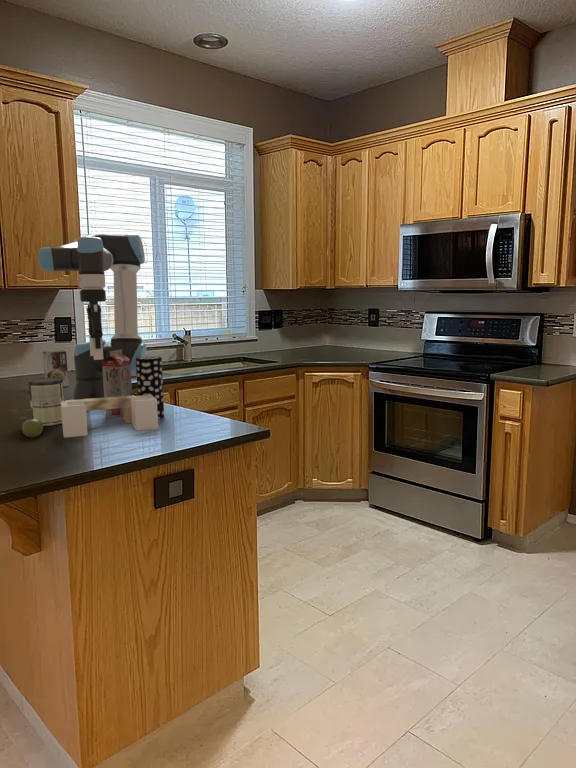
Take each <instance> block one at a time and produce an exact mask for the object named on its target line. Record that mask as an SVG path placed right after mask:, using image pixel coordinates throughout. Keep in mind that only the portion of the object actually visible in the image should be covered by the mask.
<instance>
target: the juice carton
mask: <svg viewBox="0 0 576 768" xmlns="http://www.w3.org/2000/svg"><path fill="white" fill-rule="evenodd" d="M102 368H103V385H104V398H105V397H118V396H133V387H132V386H133V385H132V377H131V364H130V359H129V358H128V357H126V356H124V355H123V354H122V349H121V350H115V351H110V356H109V357H108V358H106V359H104V360H103V361H102ZM104 414H105V416H106V417H107V416H111V417H124V412H123V408H114V409H104Z"/></svg>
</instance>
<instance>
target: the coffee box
mask: <svg viewBox="0 0 576 768" xmlns="http://www.w3.org/2000/svg"><path fill="white" fill-rule="evenodd" d="M42 357H43V358H42V359H43V369H44V371H43V372H44V378H47V377H58V378H63V381H62V382H63V388H65V387H69V386H70V383H69V372H68V359H67V357H68V356H67V351H65V350H64V349H63V350H61V349H60V350H49V351H48V350H47V351H42Z"/></svg>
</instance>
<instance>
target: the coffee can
mask: <svg viewBox="0 0 576 768" xmlns="http://www.w3.org/2000/svg"><path fill="white" fill-rule="evenodd" d="M62 381H63V378H58V377H47V378H45V377H38V378H37V377H36V378H32V379H28V381H27V383H28V390H29V391H28V392H29V393H28V394H29V400H30V401H29V403H30V414H31V415H30V417H31V418H30V419H37V420H40V421H41V422H42V424H43V427H45V426H56V425H60V424H62V412H61V402H62V401H65V400H64V399H65V398H64V397H65V396H64V387H63V382H62Z"/></svg>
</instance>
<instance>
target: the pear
mask: <svg viewBox="0 0 576 768" xmlns="http://www.w3.org/2000/svg"><path fill="white" fill-rule="evenodd" d="M43 429H44V426H43V424H42V422H41V421H40V420H37V419H32V418H30V419H27V420H25V421H24V422H23V423H22V426H21V430H22V433H23V435H25V437H27V438H37V437H39V436H40V435H41V433H42V432H43Z"/></svg>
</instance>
